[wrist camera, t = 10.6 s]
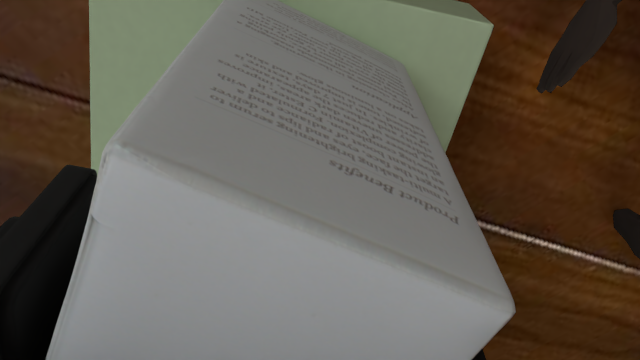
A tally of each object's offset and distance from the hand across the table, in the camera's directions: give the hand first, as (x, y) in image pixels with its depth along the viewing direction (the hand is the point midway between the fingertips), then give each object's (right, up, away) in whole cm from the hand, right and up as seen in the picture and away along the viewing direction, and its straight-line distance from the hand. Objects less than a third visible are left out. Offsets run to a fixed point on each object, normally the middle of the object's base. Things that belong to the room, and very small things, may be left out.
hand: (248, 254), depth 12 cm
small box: (0, +3, +5) cm, 6 cm away
